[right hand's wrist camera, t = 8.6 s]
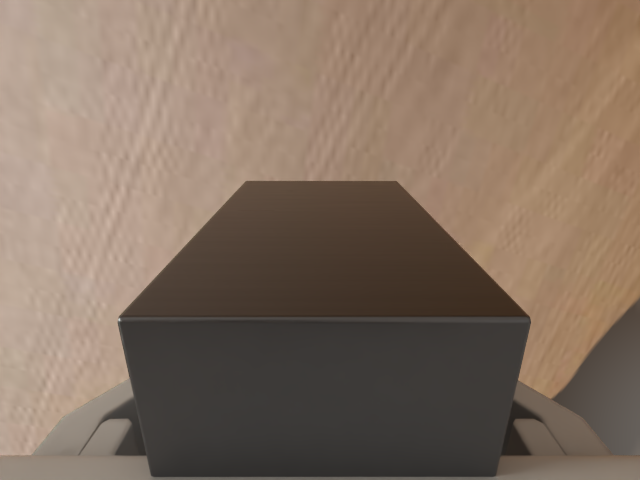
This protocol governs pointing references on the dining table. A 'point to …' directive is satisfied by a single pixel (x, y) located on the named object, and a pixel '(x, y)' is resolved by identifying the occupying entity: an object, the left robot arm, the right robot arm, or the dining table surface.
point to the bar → (323, 342)
